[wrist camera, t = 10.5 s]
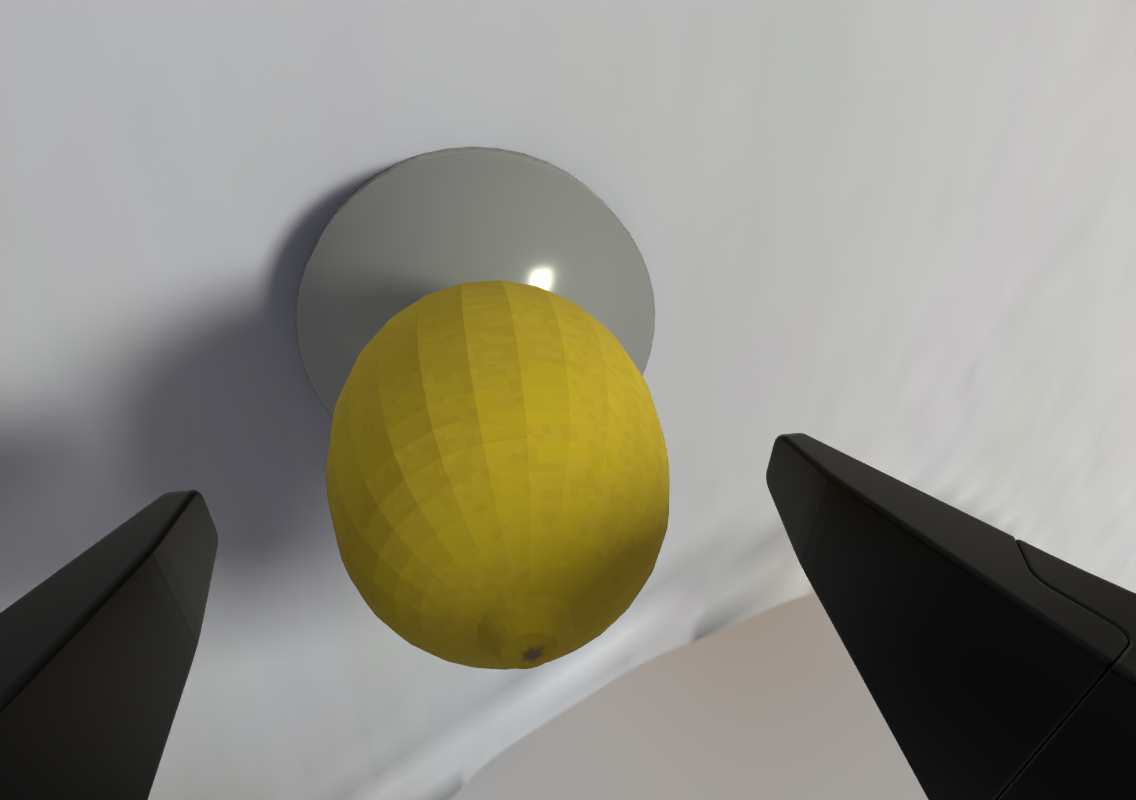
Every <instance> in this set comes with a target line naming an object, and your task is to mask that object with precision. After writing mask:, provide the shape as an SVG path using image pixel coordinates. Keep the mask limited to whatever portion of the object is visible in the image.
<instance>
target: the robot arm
mask: <svg viewBox="0 0 1136 800" xmlns="http://www.w3.org/2000/svg"><path fill="white" fill-rule="evenodd" d="M766 480H767V485H768V488H769V491H770V493H771V496H772V498H773V500H774V503H775V505H776V508H777V510H778V513H779V515H780V517H781V520H782V522H783V525H784V527H785V529H786V532H787V534H788V537H789V539H790V542H791V544H792V546H793V549H794V551H795V553H796V556H797V558H798V560H799V562H800V564H801V566H802V568H803V570H804V572H805V574H806V576H807V578H808V580H809V581H810V583H811V585H812V587H813V589H814V591H815V592H816V594H817V596H818V598H819V600H820V602H821V603H822V605H823V607H824V609H825V610H826V612H827V614H828V616H829V618H830V620H831V622H832V624H833V625H834V627H835V629H836V631H837V633H838V635H839V636H840V638H841V640H842V642H843V644H844V646H845V647H846V649H847V651H848V653H849V655H850V657H851V658H852V660H853V662H854V664H855V666H856V667H857V669H858V671H859V673H860V675H861V677H862V678H863V680H864V682H865V684H866V686H867V688H868V689H869V691H870V693H871V695H872V697H873V699H874V700H875V702H876V704H877V706H878V708H879V710H880V711H881V713H882V715H883V717H884V719H885V721H886V723H887V724H888V726H889V728H890V730H891V732H892V734H893V735H894V737H895V739H896V741H897V743H898V744H899V746H900V748H901V750H902V752H903V754H904V755H905V757H906V759H907V761H908V763H909V765H910V766H911V768H912V770H913V772H914V774H915V776H916V777H917V779H918V781H919V783H920V785H921V787H922V788H923V790H924V792H925V794H926V796H927V798H928V799H929V800H1136V593H1133V592H1131V591H1129V590H1127V589H1124V588H1122V587H1120V586H1118V585H1115V584H1113V583H1111V582H1109V581H1106V580H1104V579H1102V578H1100V577H1097V576H1095V575H1093V574H1091V573H1088V572H1086V571H1084V570H1082V569H1080V568H1078V567H1076V566H1073V565H1071V564H1069V563H1067V562H1065V561H1063V560H1061V559H1059V558H1057V557H1054V556H1052V555H1050V554H1048V553H1046V552H1044V551H1042V550H1040V549H1038V548H1036V547H1034V546H1032V545H1030V544H1028V543H1026V542H1024V541H1022V540H1015V538H1014V537H1013V536H1011V535H1009V534H1007V533H1005V532H1003V531H1001V530H999V529H997V528H995V527H993V526H991V525H989V524H987V523H985V522H983V521H981V520H979V519H977V518H975V517H973V516H971V515H968V514H966V513H964V512H962V511H960V510H958V509H956V508H954V507H952V506H950V505H948V504H946V503H944V502H942V501H940V500H938V499H936V498H934V497H932V496H930V495H928V494H926V493H924V492H922V491H920V490H918V489H915V488H913V487H911V486H909V485H907V484H905V483H903V482H901V481H899V480H897V479H895V478H893V477H891V476H889V475H887V474H885V473H883V472H881V471H879V470H877V469H875V468H873V467H871V466H869V465H867V464H865V463H863V462H860V461H858V460H856V459H854V458H852V457H850V456H848V455H846V454H844V453H842V452H840V451H838V450H836V449H834V448H832V447H830V446H828V445H826V444H824V443H822V442H820V441H818V440H816V439H814V438H812V437H810V436H808V435H806V434H803V433H793V434H782V435H780V436H778V437H777V438H776V440H775V442H774V446H773V449H772V453H771V457H770V461H769V465H768V468H767V473H766ZM217 546H218V536H217V531H216V528H215V526H214V523H213V521H212V518H211V516H210V513H209V511H208V508H207V506H206V503H205V501H204V498H203V496H202V495H201V494H200V493H199V492H198V491H195V490H188V491H177V492H169V493H165V494H163V495H162V496H160V497H159V498H157V499H156V500H155V501H153V502H152V503H151V504H149V505H148V506H147V507H145V508H144V509H142V510H141V511H140V512H138V513H137V514H136V515H134V516H133V517H131V518H130V519H129V520H127V521H126V522H125V523H123V524H122V525H120V526H119V527H118V528H116V529H115V530H114V531H112V532H111V533H109V534H108V535H107V536H105V537H104V538H103V539H101V540H100V541H99V542H97V543H96V544H94V545H93V546H92V547H90V548H89V549H88V550H86V551H85V552H83V553H82V554H81V555H79V556H78V557H77V558H75V559H74V560H72V561H71V562H70V563H68V564H67V565H66V566H64V567H63V568H61V569H60V570H59V571H57V572H56V573H55V574H53V575H52V576H51V577H49V578H48V579H46V580H45V581H44V582H42V583H41V584H40V585H38V586H37V587H35V588H34V589H33V590H31V591H30V592H29V593H27V594H26V595H24V596H23V597H22V598H20V599H19V600H18V601H16V602H15V603H13V604H12V605H11V606H9V607H8V608H7V609H5V610H4V611H2V612H1V613H0V800H148V797H149V794H150V791H151V788H152V785H153V782H154V779H155V775H156V772H157V769H158V766H159V763H160V760H161V757H162V754H163V751H164V748H165V745H166V742H167V739H168V735H169V732H170V729H171V726H172V723H173V720H174V717H175V714H176V711H177V708H178V705H179V702H180V699H181V696H182V692H183V689H184V686H185V683H186V680H187V677H188V674H189V671H190V668H191V665H192V662H193V659H194V655H195V652H196V648H197V645H198V641H199V637H200V632H201V628H202V623H203V618H204V613H205V608H206V603H207V597H208V592H209V587H210V582H211V577H212V572H213V567H214V562H215V557H216V551H217Z"/></svg>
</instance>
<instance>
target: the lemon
mask: <svg viewBox="0 0 1136 800" xmlns="http://www.w3.org/2000/svg"><path fill="white" fill-rule="evenodd" d="M326 482H327V495H328V501H329V507H330V512H331V517H332V521H333V526H334V530H335V535H336V539H337V544H338V547H339V551H340V555H341V559H342V561H343V563H344V566H345V568H346V570H347V572H348V575H349V577H350V578H351V580H352V581H353V583H354V585H355V586H356V588H357V589H358V591H359V592H360V594H361V596H362V597H363V599H364V600H365V602H366V603H367V605H368V606H369V607H370V608H371V610H372V611H373V612H374V614H375V615H376V616H377V617H378V618H379V619H380V620H382V621H383V622H384V623H385V624H386V625H388V626H389V627H390V628H391V629H392V630H393V631H395V632H396V633H397V634H398V635H399V636H401V637H402V638H403V639H405V640H406V641H407V642H409V643H410V644H412V645H414V646H416V647H418V648H420V649H422V650H424V651H426V652H428V653H430V654H432V655H435V656H437V657H439V658H441V659H444V660H446V661H449V662H453V663H457V664H461V665H466V666H470V667H476V668H489V669H515V668H517V669H528V668H533V667H537V666H540V665H542V664H544V663H546V662H550V661H552V660H555V659H557V658H560V657H562V656H564V655H567V654H569V653H571V652H573V651H575V650H577V649H579V648H580V647H582V646H584V645H585V644H587V643H588V642H590V641H592V640H593V639H595V638H596V637H598V636H599V635H601V634H602V633H603V632H604V631H605V630H606V629H607V628H608V627H609V626H610V625H611V624H613V623H614V622H615V621H616V620H617V619H618V618H619V617H620V616H621V615H622V614H623V613H624V612H625V611H626V610H627V609H628V608H629V607H630V605H631V604H632V602H633V601H634V599H635V598H636V596H637V595H638V593H639V592H640V590H641V589H642V588H643V586H644V584H645V583H646V581H647V580H648V578H649V577H650V575H651V573H652V572H653V569H654V566H655V563H656V560H657V557H658V554H659V552H660V549H661V546H662V543H663V540H664V537H665V534H666V531H667V524H668V515H669V464H668V456H667V449H666V445H665V440H664V436H663V432H662V429H661V426H660V423H659V419H658V416H657V413H656V410H655V407H654V403H653V400H652V397H651V394H650V391H649V389H648V387H647V384H646V382H645V380H644V378H643V376H642V375H641V373H640V372H639V370H638V369H637V367H636V366H635V364H634V363H633V361H632V360H631V358H630V357H629V356H628V354H627V353H626V351H625V350H624V348H623V347H622V346H621V344H620V343H619V341H618V340H617V339H616V337H615V336H614V335H613V334H612V333H611V332H610V331H609V330H608V329H607V328H606V327H605V326H603V325H602V324H601V323H600V322H598V321H597V320H596V319H595V318H593V317H592V316H591V315H589V314H588V313H587V312H586V311H584V310H583V309H582V308H581V307H579V306H578V305H577V304H575V303H574V302H572V301H570V300H568V299H565V298H563V297H561V296H558V295H556V294H554V293H551V292H549V291H547V290H544V289H542V288H540V287H537V286H533V285H527V284H521V283H515V282H509V281H502V280H494V281H483V282H471V283H461V284H458V285H455V286H452V287H449V288H446V289H443V290H440V291H437V292H434V293H431V294H428V295H426V296H424V297H422V298H421V299H419V300H418V301H416V302H415V303H413V304H411V305H410V306H408V307H407V308H405V309H404V310H402V311H400V312H399V313H397V314H396V315H394V316H393V317H392V318H391V319H390V320H389V321H388V322H387V323H386V324H385V325H384V326H383V327H382V329H381V330H380V331H379V332H378V333H377V334H376V335H375V336H374V337H373V339H372V340H371V341H370V342H369V343H368V344H367V345H366V346H365V347H364V349H363V350H362V352H361V353H360V354H359V356H358V358H357V360H356V362H355V364H354V366H353V368H352V370H351V373H350V375H349V377H348V379H347V381H346V383H345V385H344V387H343V389H342V392H341V394H340V396H339V398H338V400H337V403H336V406H335V410H334V413H333V420H332V426H331V434H330V441H329V449H328V456H327V469H326Z"/></svg>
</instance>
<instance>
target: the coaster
mask: <svg viewBox="0 0 1136 800" xmlns="http://www.w3.org/2000/svg"><path fill="white" fill-rule="evenodd" d="M494 280H502V281H509V282H515V283H521V284H527V285H533V286H537V287H540V288H542V289H544V290H547V291H549V292H551V293H554V294H556V295H558V296H561V297H563V298H565V299H568V300H570V301H572V302H574V303H575V304H577V305H578V306H579V307H581V308H582V309H583V310H584V311H586V312H587V313H588V314H589V315H591V316H592V317H593V318H595V319H596V320H597V321H598V322H600V323H601V324H602V325H603V326H605V327H606V328H607V329H608V330H609V331H610V332H611V333H612V334H613V335H614V336H615V337H616V339H617V340H618V341H619V343H620V344H621V346H622V347H623V348H624V350H625V351H626V353H627V354H628V356H629V357H630V358H631V360H632V361H633V363H634V364H635V366H636V367H637V369H638V370H639V372H640V373H641V375H643V373H644V371H645V368H646V365H647V362H648V358H649V355H650V352H651V347H652V342H653V336H654V325H655V307H654V296H653V290H652V285H651V281H650V277H649V273H648V270H647V268H646V265H645V263H644V260H643V258H642V255H641V253H640V251H639V249H638V247H637V245H636V244H635V242H634V240H633V239H632V237H631V235H630V233H629V232H628V231H627V229H626V228H625V227H624V226H623V224H622V223H621V222H620V221H619V219H618V218H617V217H616V216H615V214H614V213H613V212H612V211H611V210H610V209H609V208H608V206H607V205H606V204H605V203H604V202H603V201H602V200H601V199H600V198H599V197H598V196H597V195H596V194H595V193H594V192H592V191H591V190H590V189H589V188H588V187H587V186H586V185H584V184H583V183H582V182H580V181H579V180H577V179H576V178H575V177H573V176H572V175H570V174H569V173H567V172H565V171H563V170H562V169H560V168H558V167H556V166H554V165H552V164H550V163H548V162H546V161H543V160H540V159H537V158H535V157H532V156H529V155H526V154H523V153H518V152H513V151H508V150H503V149H499V148H483V147H465V148H452V149H444V150H440V151H435V152H431V153H426V154H422V155H419V156H416V157H414V158H411V159H408V160H406V161H403V162H400V163H398V164H396V165H394V166H392V167H391V168H389V169H387V170H385V171H383V172H381V173H380V174H378V175H376V176H375V177H373V178H372V179H371V180H369V181H368V182H367V183H365V184H364V185H363V186H361V187H360V188H359V189H358V190H356V191H355V192H354V193H353V194H352V195H351V196H350V197H349V198H348V199H347V200H346V201H345V202H344V204H343V205H342V206H341V207H340V208H339V209H338V210H337V212H336V213H335V214H334V216H333V217H332V219H331V220H330V221H329V223H328V224H327V226H326V227H325V229H324V231H323V233H322V235H321V237H320V239H319V241H318V243H317V245H316V247H315V249H314V251H313V253H312V255H311V257H310V259H309V261H308V263H307V265H306V268H305V271H304V275H303V278H302V281H301V284H300V287H299V294H298V301H297V307H296V334H297V340H298V346H299V352H300V356H301V359H302V362H303V366H304V369H305V372H306V375H307V377H308V379H309V381H310V383H311V385H312V387H313V389H314V391H315V393H316V395H317V396H318V398H319V399H320V401H321V402H322V404H323V405H324V407H325V408H326V410H327V411H328V412H329V414H330V415H331V416H332V417H333V413H334V410H335V406H336V403H337V400H338V398H339V396H340V394H341V392H342V389H343V387H344V385H345V383H346V381H347V379H348V377H349V375H350V373H351V370H352V368H353V366H354V364H355V362H356V360H357V358H358V356H359V354H360V353H361V352H362V350H363V349H364V347H365V346H366V345H367V344H368V343H369V342H370V341H371V340H372V339H373V337H374V336H375V335H376V334H377V333H378V332H379V331H380V330H381V329H382V327H383V326H384V325H385V324H386V323H387V322H388V321H389V320H390V319H391V318H392V317H393V316H394V315H396V314H397V313H399V312H400V311H402V310H404V309H405V308H407V307H408V306H410V305H411V304H413V303H415V302H416V301H418V300H419V299H421V298H422V297H424V296H426V295H428V294H431V293H434V292H437V291H440V290H443V289H446V288H449V287H452V286H455V285H458V284H461V283H471V282H483V281H494Z"/></svg>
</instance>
